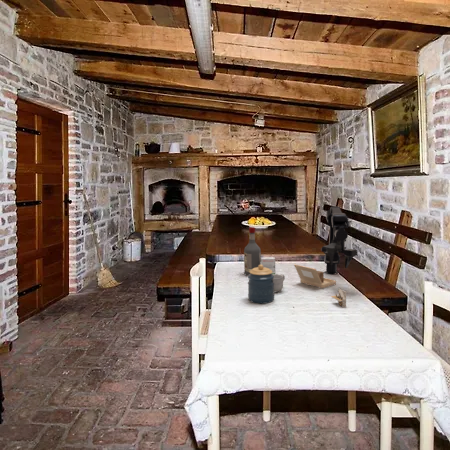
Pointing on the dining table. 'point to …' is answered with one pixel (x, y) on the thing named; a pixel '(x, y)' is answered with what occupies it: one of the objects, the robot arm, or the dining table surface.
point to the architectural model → (341, 297)
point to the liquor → (251, 253)
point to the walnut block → (321, 275)
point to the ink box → (269, 263)
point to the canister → (261, 285)
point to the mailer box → (325, 284)
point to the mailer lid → (308, 274)
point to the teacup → (278, 282)
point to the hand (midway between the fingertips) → (338, 266)
